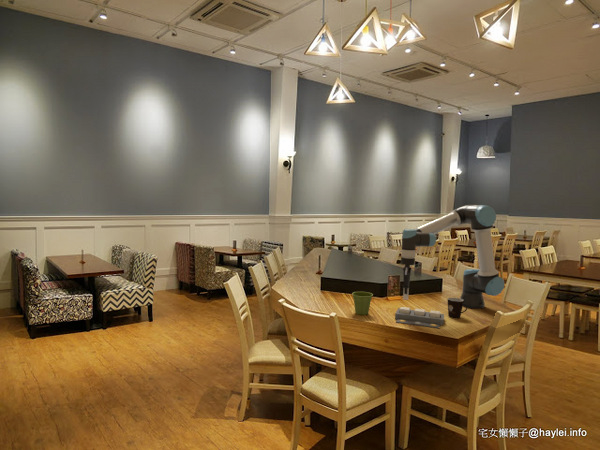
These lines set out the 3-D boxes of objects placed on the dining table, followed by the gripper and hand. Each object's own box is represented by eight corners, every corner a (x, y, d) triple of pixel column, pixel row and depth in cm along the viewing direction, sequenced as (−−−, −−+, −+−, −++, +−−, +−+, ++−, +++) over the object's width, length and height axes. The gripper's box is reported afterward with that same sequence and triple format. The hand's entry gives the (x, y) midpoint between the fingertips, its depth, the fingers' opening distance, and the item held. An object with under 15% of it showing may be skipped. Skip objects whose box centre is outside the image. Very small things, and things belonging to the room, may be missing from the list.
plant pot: (355, 309, 253) (356, 290, 252) (375, 312, 247) (376, 293, 246) (347, 314, 243) (348, 294, 242) (367, 317, 237) (368, 297, 236)
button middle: (424, 313, 239) (425, 309, 239) (424, 316, 234) (424, 312, 234) (415, 312, 241) (415, 308, 240) (414, 315, 236) (414, 310, 236)
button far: (410, 312, 242) (410, 307, 241) (409, 314, 237) (409, 310, 237) (400, 310, 243) (401, 306, 243) (399, 313, 239) (400, 308, 238)
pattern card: (439, 325, 228) (439, 324, 228) (439, 328, 222) (439, 327, 222) (397, 319, 235) (397, 318, 235) (396, 322, 230) (396, 321, 230)
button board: (443, 319, 239) (444, 314, 239) (442, 325, 228) (443, 319, 227) (398, 313, 247) (398, 308, 247) (394, 318, 236) (395, 313, 236)
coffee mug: (443, 314, 249) (444, 297, 248) (458, 314, 249) (459, 297, 249) (452, 320, 237) (453, 302, 236) (467, 320, 238) (468, 302, 237)
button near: (440, 315, 236) (440, 311, 236) (439, 318, 231) (439, 313, 231) (430, 314, 238) (430, 310, 238) (429, 317, 233) (430, 312, 233)
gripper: (402, 255, 245) (400, 296, 247) (399, 258, 233) (397, 301, 235) (416, 256, 242) (413, 297, 244) (413, 259, 230) (411, 302, 232)
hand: (405, 299), depth 239 cm, fingers closed
